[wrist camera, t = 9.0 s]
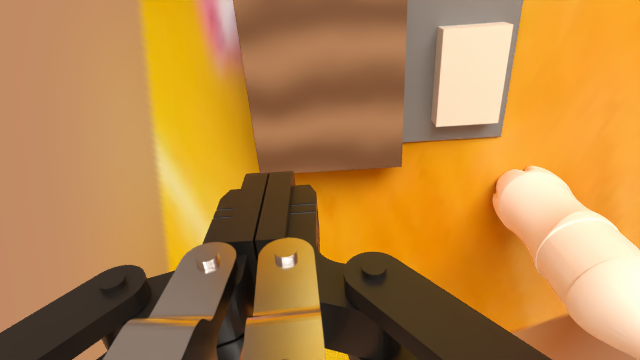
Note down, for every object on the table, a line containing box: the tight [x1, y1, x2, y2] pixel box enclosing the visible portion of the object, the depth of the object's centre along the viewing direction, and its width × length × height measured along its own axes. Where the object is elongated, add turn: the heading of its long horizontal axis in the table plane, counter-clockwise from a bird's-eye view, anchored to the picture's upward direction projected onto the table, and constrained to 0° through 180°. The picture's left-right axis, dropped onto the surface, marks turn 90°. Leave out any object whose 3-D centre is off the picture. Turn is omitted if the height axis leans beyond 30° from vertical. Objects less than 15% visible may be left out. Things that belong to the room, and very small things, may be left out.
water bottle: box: [492, 166, 640, 360], centre depth 33 cm, size 7×7×25 cm
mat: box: [403, 0, 523, 142], centre depth 38 cm, size 15×11×1 cm
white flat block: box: [431, 22, 513, 127], centre depth 37 cm, size 9×6×2 cm, turn 4°
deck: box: [233, 0, 408, 173], centre depth 37 cm, size 16×14×4 cm
